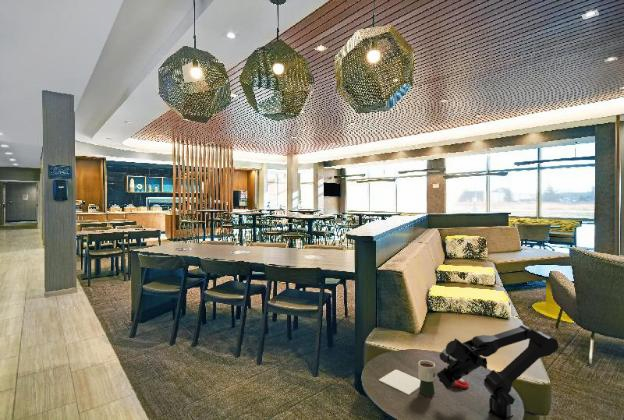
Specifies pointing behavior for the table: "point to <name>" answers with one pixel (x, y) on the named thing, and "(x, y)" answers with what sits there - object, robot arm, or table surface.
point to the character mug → (426, 377)
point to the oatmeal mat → (401, 381)
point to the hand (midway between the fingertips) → (440, 380)
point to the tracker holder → (461, 383)
